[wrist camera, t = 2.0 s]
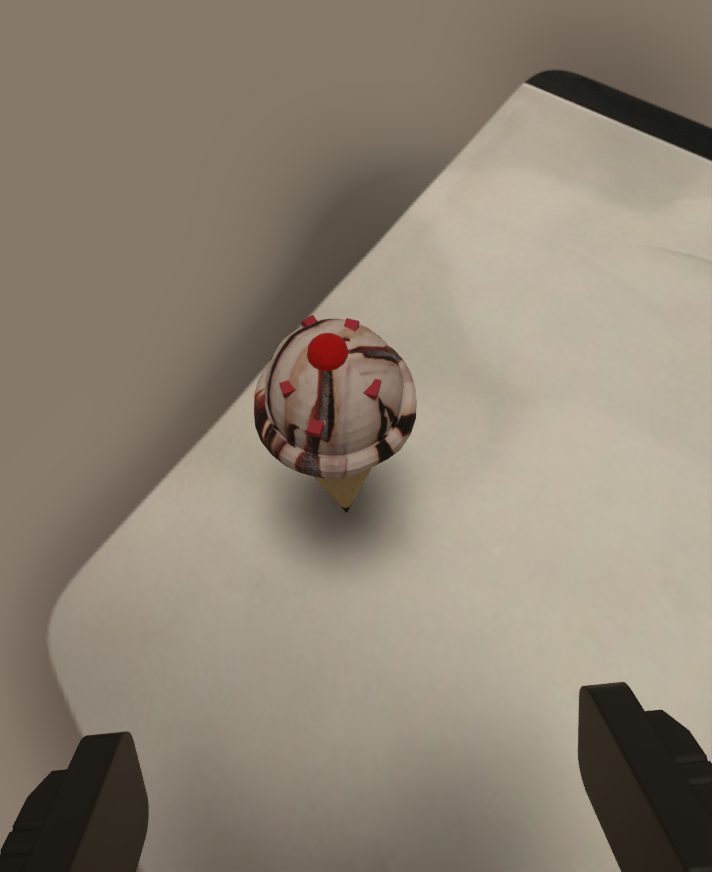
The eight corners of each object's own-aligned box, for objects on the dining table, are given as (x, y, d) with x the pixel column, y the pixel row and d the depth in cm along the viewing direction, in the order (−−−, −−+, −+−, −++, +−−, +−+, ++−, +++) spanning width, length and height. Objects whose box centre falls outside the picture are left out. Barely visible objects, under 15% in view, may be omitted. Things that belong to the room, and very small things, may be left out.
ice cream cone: (310, 447, 35) (268, 247, 22) (417, 473, 34) (443, 282, 21) (275, 550, 33) (204, 398, 19) (389, 580, 32) (398, 444, 19)
